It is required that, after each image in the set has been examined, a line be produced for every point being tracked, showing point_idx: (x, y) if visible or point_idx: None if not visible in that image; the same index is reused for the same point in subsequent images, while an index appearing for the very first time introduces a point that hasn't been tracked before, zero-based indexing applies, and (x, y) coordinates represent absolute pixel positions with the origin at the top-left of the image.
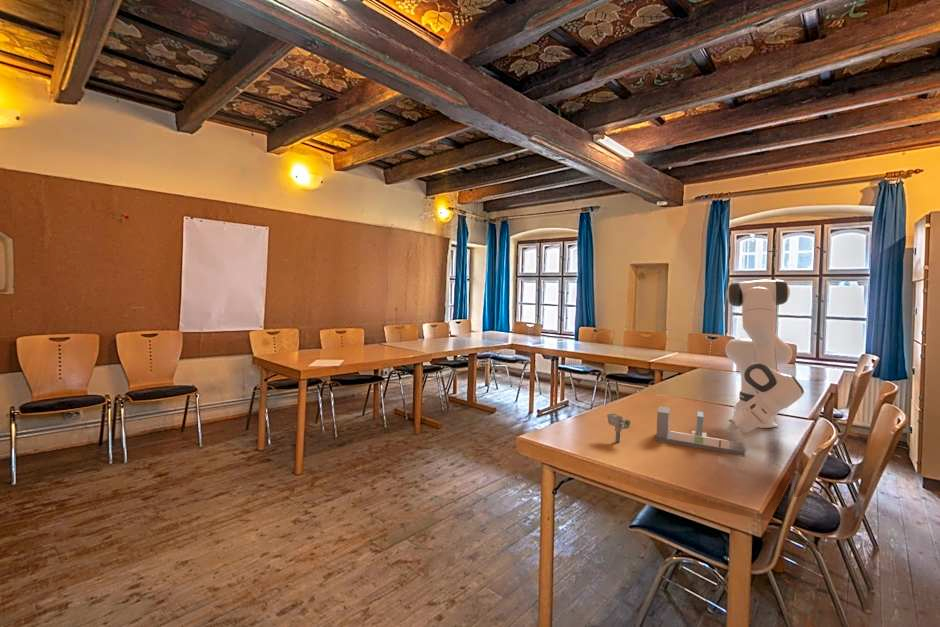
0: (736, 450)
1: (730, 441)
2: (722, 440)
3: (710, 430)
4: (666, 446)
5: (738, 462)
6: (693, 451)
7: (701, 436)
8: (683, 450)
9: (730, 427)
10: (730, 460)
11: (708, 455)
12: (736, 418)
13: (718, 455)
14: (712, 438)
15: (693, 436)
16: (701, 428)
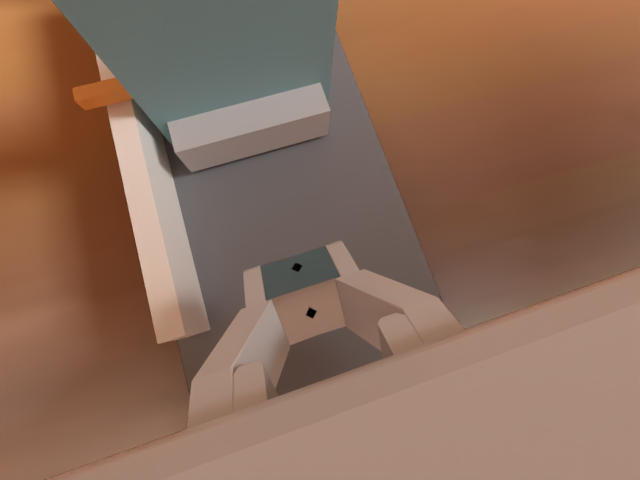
0: None
1: (414, 285)
2: (145, 283)
3: (632, 95)
4: (33, 19)
5: (21, 453)
6: (52, 156)
7: (115, 118)
8: (26, 108)
9: (241, 321)
10: (29, 394)
11: (35, 249)
12: (305, 450)
13: (87, 297)
14: (128, 202)
15: (105, 73)
16: (103, 57)
